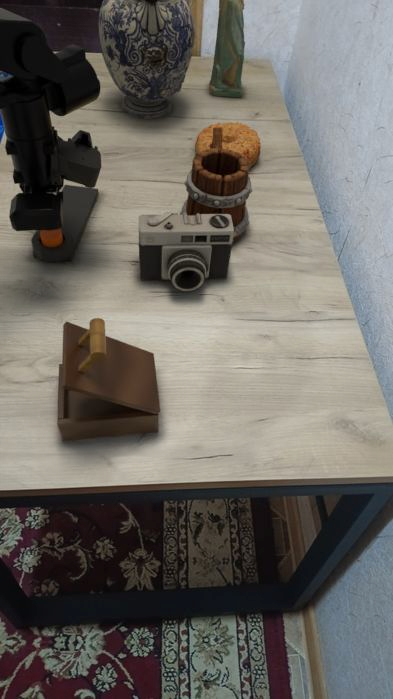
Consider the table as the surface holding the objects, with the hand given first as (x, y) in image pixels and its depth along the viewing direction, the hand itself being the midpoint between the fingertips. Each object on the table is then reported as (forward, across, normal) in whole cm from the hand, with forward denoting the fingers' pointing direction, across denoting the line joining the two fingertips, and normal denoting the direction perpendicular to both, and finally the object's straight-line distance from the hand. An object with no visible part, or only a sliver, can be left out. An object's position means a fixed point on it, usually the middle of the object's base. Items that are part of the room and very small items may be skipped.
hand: (49, 229), depth 74 cm
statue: (+5, +53, -38) cm, 65 cm away
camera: (+5, -7, -20) cm, 21 cm away
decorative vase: (+5, +46, -18) cm, 50 cm away
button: (+2, 0, 0) cm, 2 cm away
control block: (+5, +7, -2) cm, 9 cm away
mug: (+5, +7, -26) cm, 28 cm away
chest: (+5, -29, -7) cm, 30 cm away
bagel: (+5, +26, -32) cm, 42 cm away
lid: (-3, -29, -8) cm, 30 cm away
